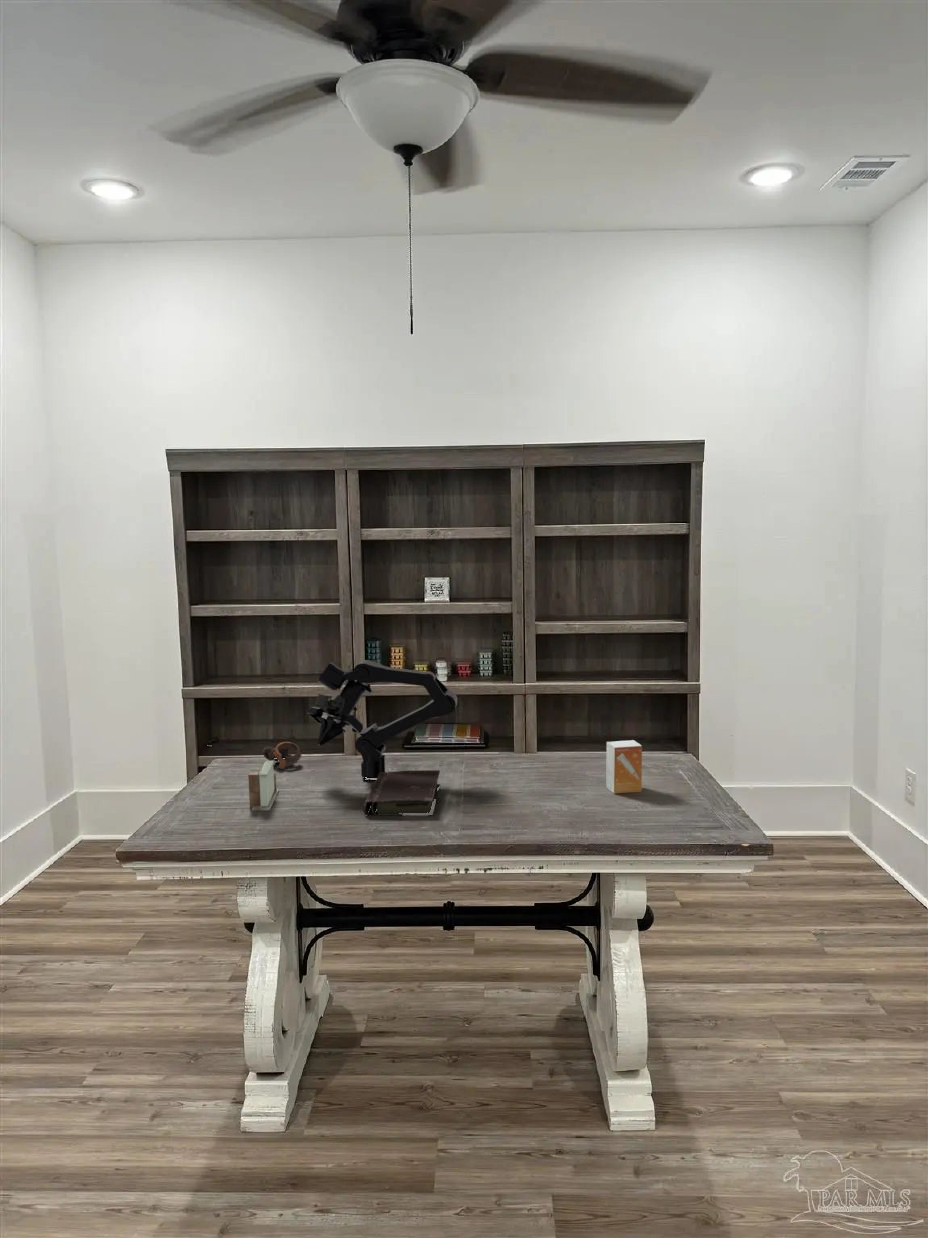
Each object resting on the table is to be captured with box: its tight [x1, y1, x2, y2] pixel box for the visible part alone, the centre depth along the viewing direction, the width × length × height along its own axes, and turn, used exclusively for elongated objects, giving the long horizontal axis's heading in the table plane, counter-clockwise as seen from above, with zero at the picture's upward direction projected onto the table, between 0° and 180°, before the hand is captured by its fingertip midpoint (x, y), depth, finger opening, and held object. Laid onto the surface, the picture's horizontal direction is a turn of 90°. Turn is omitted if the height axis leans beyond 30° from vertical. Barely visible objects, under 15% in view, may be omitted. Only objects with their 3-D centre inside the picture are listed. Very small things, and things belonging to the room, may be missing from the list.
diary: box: [363, 769, 441, 816], centre depth 233 cm, size 19×25×5 cm
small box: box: [605, 739, 643, 795], centre depth 238 cm, size 8×6×13 cm
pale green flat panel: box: [259, 760, 275, 806], centre depth 233 cm, size 13×2×8 cm, turn 5°
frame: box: [247, 771, 280, 812], centre depth 235 cm, size 6×17×9 cm, turn 3°
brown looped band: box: [262, 741, 302, 770], centre depth 267 cm, size 12×10×8 cm
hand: (319, 744), depth 243 cm, fingers closed
